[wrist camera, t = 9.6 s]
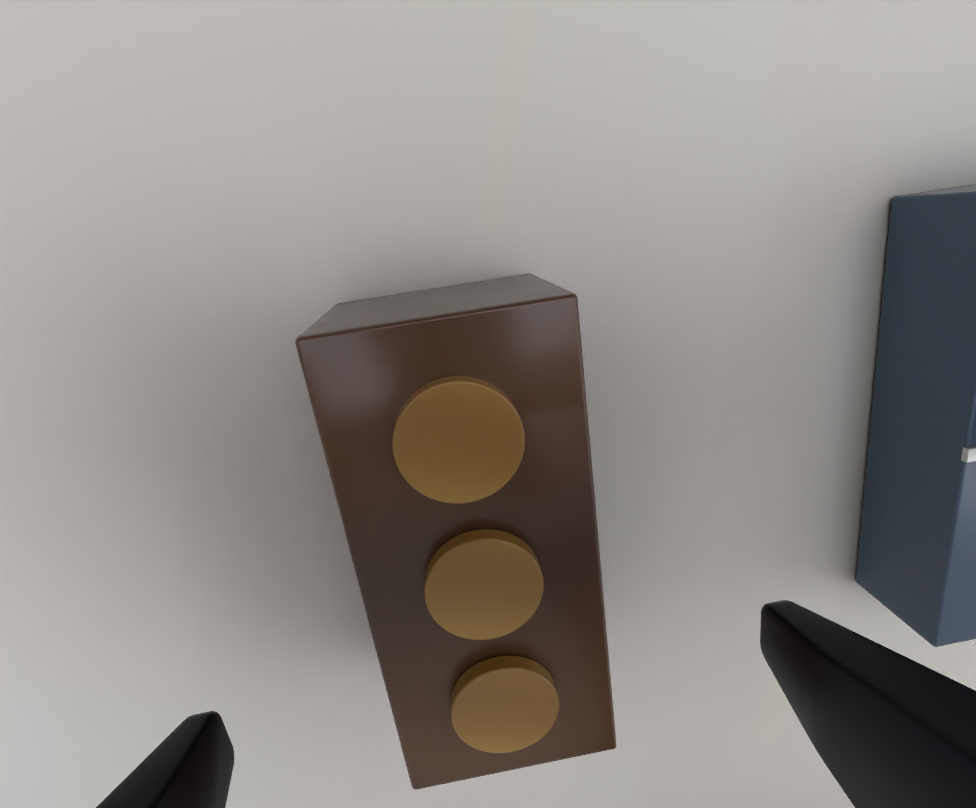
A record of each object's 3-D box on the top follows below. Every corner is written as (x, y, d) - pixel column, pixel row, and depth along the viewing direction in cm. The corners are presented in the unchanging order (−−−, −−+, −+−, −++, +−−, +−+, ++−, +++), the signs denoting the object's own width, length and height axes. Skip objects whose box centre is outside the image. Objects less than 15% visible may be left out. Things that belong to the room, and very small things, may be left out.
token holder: (572, 623, 17) (623, 765, 13) (416, 653, 17) (411, 809, 12) (532, 272, 14) (584, 295, 9) (335, 303, 13) (286, 342, 9)
